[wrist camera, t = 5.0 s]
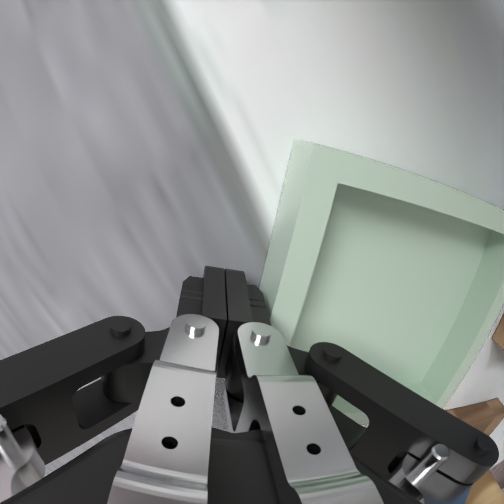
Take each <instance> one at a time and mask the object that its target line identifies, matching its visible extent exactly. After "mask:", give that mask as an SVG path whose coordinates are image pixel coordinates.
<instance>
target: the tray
mask: <svg viewBox="0 0 504 504" xmlns="http://www.w3.org/2000/svg"><path fill="white" fill-rule="evenodd" d="M259 290H260V291H261V292H262V293H263V295H264V299H265V303H266V308H267V311H268V314H269V318H270V322H271V326H272V327H274V328H275V329H277V330H278V331H279V332H280V333H281V334H282V336H283V338H284V341H285V343H286V345H287V346H290V347H292V348H295V349H299V350H302V351H306V352H309V350H310V347H311V346H312V345H313V344H315V343H318V342H329V343H333V344H336V345H339V346H341V347H343V348H344V349H346V350H347V351H349V352H351V353H352V354H354V355H355V356H357V357H358V358H360V359H362V360H363V361H365V362H366V363H368V364H370V365H371V366H373V367H374V368H376V369H378V370H379V371H381V372H382V373H384V374H386V375H387V376H389V377H391V378H392V379H394V380H395V381H397V382H399V383H400V384H402V385H404V386H405V387H407V388H409V389H410V390H412V391H413V392H415V393H417V394H418V395H420V396H422V397H423V398H425V399H427V400H428V401H430V402H432V403H433V404H435V405H437V406H438V407H440V408H442V409H443V407H444V406H445V404H446V403H447V402H448V400H449V399H450V397H451V396H452V394H453V393H454V391H455V390H456V388H457V387H458V385H459V384H460V382H461V381H462V379H463V378H464V376H465V374H466V373H467V371H468V370H469V368H470V366H471V365H472V363H473V361H474V360H475V358H476V356H477V354H478V353H479V351H480V349H481V347H482V346H483V344H484V342H485V340H486V338H487V336H488V334H489V333H490V331H491V329H492V327H493V325H494V323H495V321H496V319H497V317H498V315H499V313H500V311H501V309H502V306H503V304H504V210H503V209H501V208H499V207H497V206H494V205H492V204H490V203H488V202H485V201H483V200H481V199H478V198H476V197H474V196H471V195H469V194H467V193H464V192H462V191H459V190H457V189H454V188H452V187H449V186H447V185H444V184H441V183H439V182H436V181H433V180H431V179H428V178H425V177H423V176H420V175H417V174H414V173H411V172H408V171H406V170H403V169H400V168H397V167H394V166H391V165H388V164H385V163H381V162H378V161H375V160H372V159H369V158H365V157H362V156H359V155H355V154H352V153H348V152H345V151H341V150H338V149H334V148H330V147H327V146H323V145H319V144H315V143H311V142H306V141H301V140H296V139H294V142H293V146H292V151H291V155H290V159H289V164H288V168H287V173H286V177H285V181H284V186H283V190H282V194H281V199H280V203H279V207H278V211H277V216H276V220H275V224H274V228H273V233H272V237H271V241H270V245H269V249H268V254H267V258H266V262H265V266H264V270H263V274H262V279H261V283H260V287H259ZM332 406H333V407H335V408H336V409H338V410H339V411H341V412H342V413H343V414H345V415H346V416H348V417H349V418H351V419H352V420H354V421H355V422H356V423H358V424H369V419H368V417H367V415H366V414H365V413H363V412H362V411H361V410H359V409H358V408H356V407H355V406H353V405H352V404H350V403H349V402H347V401H346V400H344V399H343V398H341V397H340V396H339V395H337V397H336V399H335V401H334V402H333V404H332Z"/></svg>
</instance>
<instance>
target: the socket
mask: <svg viewBox="0 0 504 504" xmlns="http://www.w3.org/2000/svg"><path fill="white" fill-rule="evenodd" d="M446 411H447V412H449V413H450V414H452V415H454V416H455V417H457V418H459V419H460V420H462V421H464V422H466V423H467V424H469V425H471V426H472V427H474V428H476V429H478V430H479V431H481V432H483V433H485V434H486V435H488V436H489V435H490V434H491V433H492V432H493V430H494V429H495V428H496V427H497V425H498V424H499V423H500V422H501V420H502V419H503V418H504V405H503V404H502V403H501V402H500V400H499V399H498V398H496V399H493V400H489V401H485V402H481V403H477V404H473V405H469V406H465V407H460V408H455V409H451V410H446Z"/></svg>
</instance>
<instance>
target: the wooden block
mask: <svg viewBox="0 0 504 504" xmlns="http://www.w3.org/2000/svg"><path fill="white" fill-rule="evenodd" d="M492 339H493V340H494V341H495V342H496V343H497V344H498V345H499V346H500V347H501V348H502V349H503V350H504V315H503V317H502V319H501V321H500V323H499V325H498V327H497V329H496V331H495V333H494V335H493V337H492Z"/></svg>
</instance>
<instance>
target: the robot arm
mask: <svg viewBox="0 0 504 504" xmlns="http://www.w3.org/2000/svg"><path fill="white" fill-rule="evenodd" d="M216 371H217V377H218V378H225V381H226V384H225V389H224V393H223V399H224V406H225V412H226V419H227V425H228V431H229V432H226V431H223V430H219V429H216V428H212V416H213V405H214V393H215V383H216ZM100 377H101V379H100V380H98V381H96V382H94V383H92V384H90V385H88V386H86V387H84V388H82V389H80V390H78V389H79V388H80V387H82V386H84V385H86V384H88V383H90V382H92V381H94V380H96V379H98V378H100ZM77 390H78V391H77ZM337 395H339V396H340V397H341V398H343V399H344V400H346V401H347V402H349V403H350V404H352V405H353V406H355V407H356V408H358V409H359V410H361V411H362V412H363V413H365V414H366V415H367V417H368V419H369V426H368V428H365V427H363V426H361V425H359V424H358V423H356V422H355V421H354V420H352V419H351V418H349V417H348V416H346V415H345V414H343V413H342V412H341V411H339V410H338V409H336V408H335V407H333V406H332V404H333V402H334V401H335V399H336V397H337ZM137 410H138V412H137V415H136V419H135V422H134V425H133V428H131V429H127V430H123V431H120V432H117V433H115V434H113V435H111V436H109V437H107V438H105V439H103V440H102V441H100V442H99V443H97V444H96V445H94V446H93V447H91V448H90V449H88V450H87V451H85V452H83V453H82V454H80V455H79V456H77V457H76V458H74V459H73V460H71V461H69V462H68V463H66V464H65V465H63V466H62V467H60V468H58V469H57V470H55V471H54V472H52V473H50V474H49V475H47V476H45V477H44V475H45V465H46V464H48V463H50V462H52V461H53V460H55V459H57V458H59V457H61V456H62V455H64V454H66V453H68V452H69V451H71V450H73V449H75V448H76V447H78V446H80V445H81V444H83V443H85V442H87V441H88V440H90V439H92V438H93V437H95V436H97V435H98V434H100V433H102V432H103V431H105V430H107V429H108V428H110V427H111V426H113V425H115V424H116V423H118V422H120V421H121V420H123V419H124V418H126V417H128V416H129V415H131V414H132V413H134V412H135V411H137ZM498 457H499V451H498V448H497V445H496V444H495V442H494V441H493V440H492V439H491V438H490V437H489V436H488V435H486V434H485V433H483V432H481V431H479V430H478V429H476V428H474V427H472V426H471V425H469V424H467V423H466V422H464V421H462V420H460V419H459V418H457V417H455V416H454V415H452V414H450V413H449V412H447V411H445V410H443V409H442V408H440V407H438V406H437V405H435V404H433V403H432V402H430V401H428V400H427V399H425V398H423V397H422V396H420V395H418V394H417V393H415V392H413V391H412V390H410V389H409V388H407V387H405V386H404V385H402V384H400V383H399V382H397V381H395V380H394V379H392V378H391V377H389V376H387V375H386V374H384V373H382V372H381V371H379V370H378V369H376V368H374V367H373V366H371V365H370V364H368V363H366V362H365V361H363V360H362V359H360V358H358V357H357V356H355V355H354V354H352V353H351V352H349V351H347V350H346V349H344V348H343V347H341V346H339V345H336V344H333V343H329V342H318V343H315V344H313V345H312V346H311V347H310V350H309V352H306V351H302V350H299V349H295V348H292V347H290V346H287V345H286V343H285V341H284V338H283V336H282V334H281V333H280V332H279V331H278V330H277V329H275V328H274V327H272V326H271V322H270V318H269V314H268V311H267V308H266V303H265V299H264V295H263V293H262V292H261V291H260V290H259V289H258V287H257V286H254V285H247V284H246V280H245V274H244V272H243V271H237V270H230V269H225V270H224V269H223V268H216V267H210V266H205V270H204V276H203V278H199V277H192V276H189V277H188V278H187V279H186V280H185V281H183V285H182V290H181V295H180V300H179V305H178V311H177V316H176V318H175V319H174V320H173V321H172V324H171V327H169V328H167V329H165V330H161V331H154V332H145V329H144V327H143V325H142V324H141V323H140V322H138V321H137V320H135V319H133V318H130V317H125V316H113V317H108V318H105V319H103V320H100V321H98V322H95V323H93V324H90V325H88V326H86V327H83V328H81V329H78V330H76V331H73V332H71V333H68V334H66V335H63V336H61V337H58V338H56V339H53V340H51V341H48V342H46V343H43V344H41V345H38V346H35V347H33V348H30V349H28V350H25V351H23V352H20V353H18V354H15V355H13V356H10V357H8V358H5V359H3V360H0V504H465V502H466V499H467V497H468V494H469V492H470V489H471V487H472V485H473V484H474V483H476V482H477V481H478V480H479V479H480V478H481V477H482V476H483V475H484V474H485V473H486V472H487V471H488V470H489V469H490V468H491V467H492V466H493V465H494V464H495V463H496V462H497V460H498Z"/></svg>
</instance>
